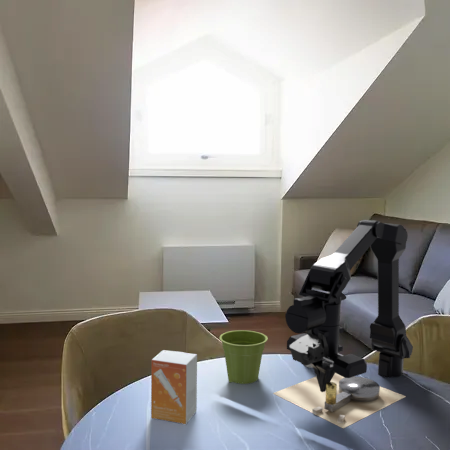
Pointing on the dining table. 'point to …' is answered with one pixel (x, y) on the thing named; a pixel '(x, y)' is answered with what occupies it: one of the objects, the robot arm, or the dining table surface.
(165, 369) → the small box
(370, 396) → the lever
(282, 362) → the dining table surface
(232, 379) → the plant pot
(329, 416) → the stand board
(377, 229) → the robot arm
